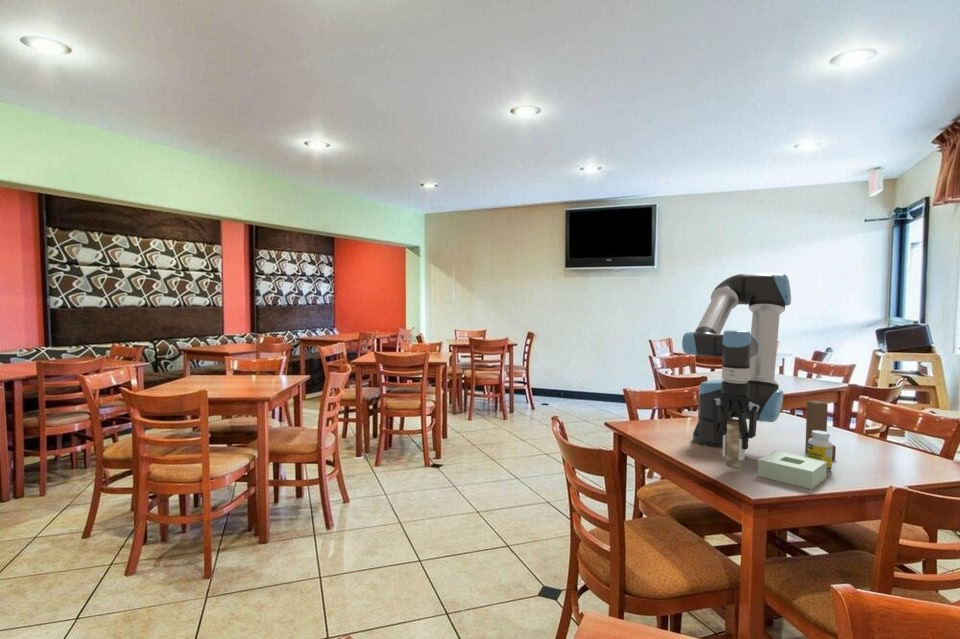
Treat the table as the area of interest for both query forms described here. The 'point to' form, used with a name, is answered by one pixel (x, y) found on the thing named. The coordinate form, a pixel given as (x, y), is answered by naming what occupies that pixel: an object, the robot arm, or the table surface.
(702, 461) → the table surface
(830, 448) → the pill bottle
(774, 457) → the socket block
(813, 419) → the wooden block
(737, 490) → the table surface
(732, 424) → the dowel
